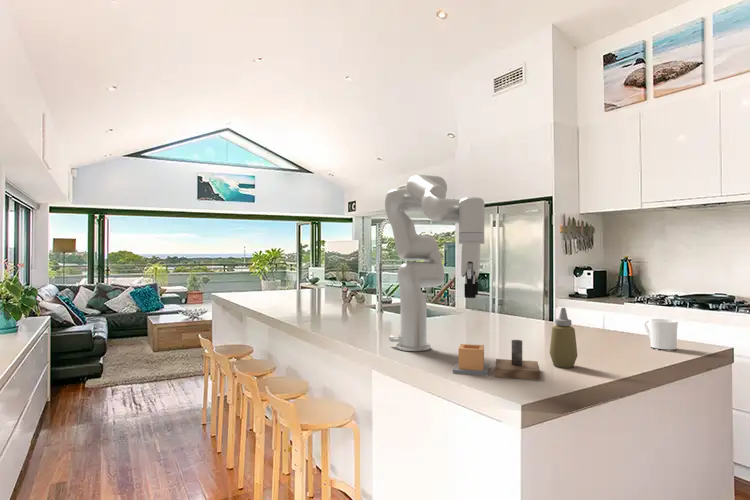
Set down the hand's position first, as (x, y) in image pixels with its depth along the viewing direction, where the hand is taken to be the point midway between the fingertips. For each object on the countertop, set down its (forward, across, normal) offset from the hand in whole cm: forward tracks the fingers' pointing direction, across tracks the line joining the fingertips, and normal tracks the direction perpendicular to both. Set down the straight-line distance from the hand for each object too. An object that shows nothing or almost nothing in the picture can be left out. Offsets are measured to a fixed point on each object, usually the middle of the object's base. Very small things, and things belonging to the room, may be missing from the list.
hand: (471, 296), depth 143 cm
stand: (+22, 0, +13) cm, 26 cm away
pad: (+22, 0, 0) cm, 22 cm away
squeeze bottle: (+22, -13, +27) cm, 37 cm away
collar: (+21, 0, 0) cm, 21 cm away
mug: (+22, -51, +64) cm, 85 cm away
